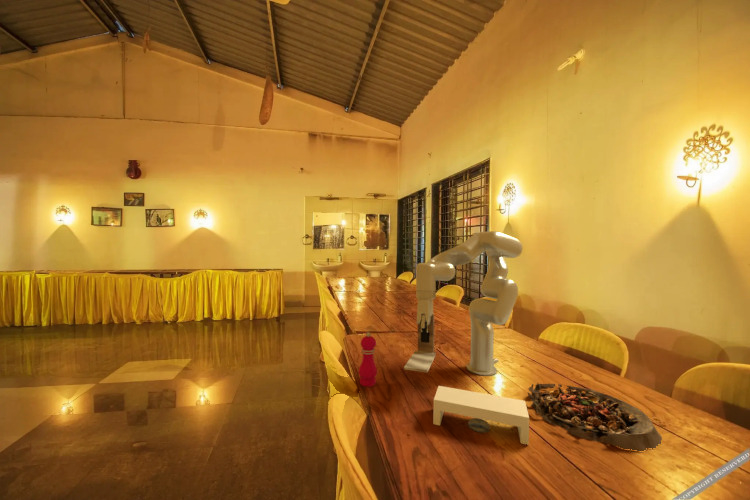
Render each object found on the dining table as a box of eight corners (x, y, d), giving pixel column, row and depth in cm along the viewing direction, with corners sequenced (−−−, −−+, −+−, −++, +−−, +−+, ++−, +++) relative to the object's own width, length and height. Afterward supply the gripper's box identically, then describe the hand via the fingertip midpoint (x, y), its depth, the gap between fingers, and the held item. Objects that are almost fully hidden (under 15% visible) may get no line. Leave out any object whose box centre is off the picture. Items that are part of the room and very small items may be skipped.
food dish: (505, 404, 107) (505, 381, 107) (567, 390, 120) (567, 370, 120) (618, 467, 74) (618, 435, 75) (686, 438, 88) (686, 411, 88)
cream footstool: (438, 408, 101) (438, 385, 101) (524, 425, 92) (524, 400, 92) (433, 424, 91) (433, 399, 91) (528, 445, 82) (529, 417, 82)
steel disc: (476, 419, 95) (476, 416, 95) (493, 429, 90) (493, 425, 90) (464, 425, 91) (464, 421, 91) (481, 436, 86) (481, 432, 86)
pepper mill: (374, 388, 114) (375, 335, 114) (356, 386, 116) (357, 334, 116) (378, 380, 121) (379, 330, 121) (360, 378, 123) (361, 329, 123)
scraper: (416, 350, 122) (416, 313, 121) (436, 352, 119) (436, 314, 119) (404, 369, 103) (403, 325, 103) (427, 372, 100) (427, 327, 100)
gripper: (420, 290, 127) (420, 334, 128) (411, 297, 112) (411, 346, 112) (438, 291, 125) (438, 335, 125) (431, 298, 109) (432, 348, 110)
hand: (426, 340), depth 119 cm, fingers closed on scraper, 3 cm apart
